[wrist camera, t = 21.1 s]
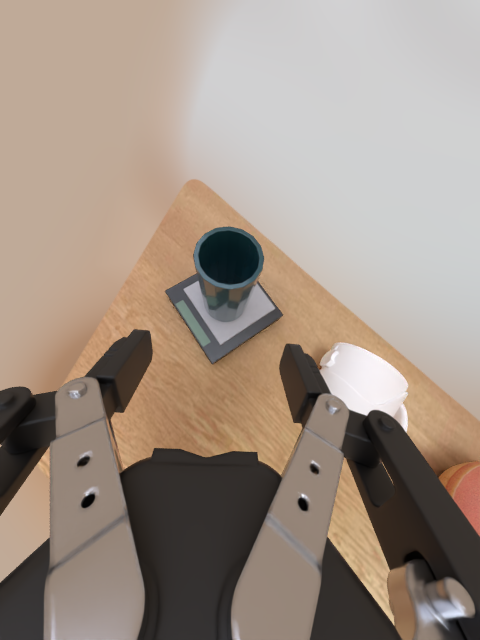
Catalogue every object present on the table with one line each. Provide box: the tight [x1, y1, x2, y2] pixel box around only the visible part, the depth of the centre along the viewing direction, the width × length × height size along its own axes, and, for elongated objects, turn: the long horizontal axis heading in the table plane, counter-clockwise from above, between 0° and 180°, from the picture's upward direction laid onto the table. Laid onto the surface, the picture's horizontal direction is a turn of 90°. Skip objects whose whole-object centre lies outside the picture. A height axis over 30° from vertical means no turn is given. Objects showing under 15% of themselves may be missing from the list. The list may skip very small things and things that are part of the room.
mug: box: [319, 342, 408, 432], centre depth 24 cm, size 12×9×8 cm
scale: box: [165, 274, 283, 364], centre depth 28 cm, size 12×12×3 cm
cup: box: [193, 227, 264, 322], centre depth 21 cm, size 6×6×11 cm
